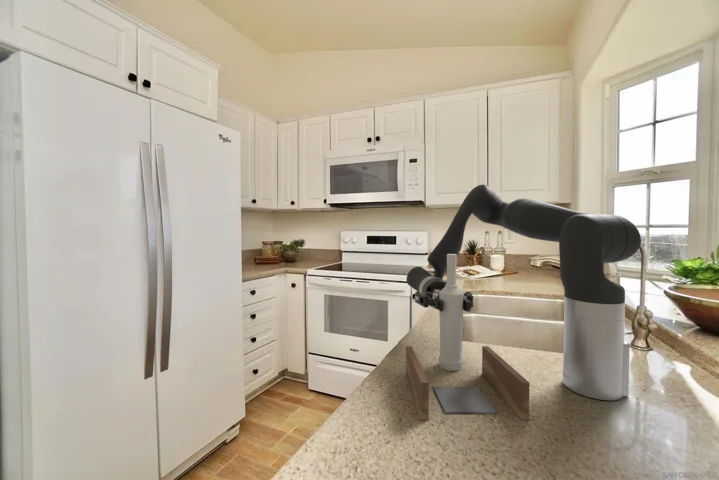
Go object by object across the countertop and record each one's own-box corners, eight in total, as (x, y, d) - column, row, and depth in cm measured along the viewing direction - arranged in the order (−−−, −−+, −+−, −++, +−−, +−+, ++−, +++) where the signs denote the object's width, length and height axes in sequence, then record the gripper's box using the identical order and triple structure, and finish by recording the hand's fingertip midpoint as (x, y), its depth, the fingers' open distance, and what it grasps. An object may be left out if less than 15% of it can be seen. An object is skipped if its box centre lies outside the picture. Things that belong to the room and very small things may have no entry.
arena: (487, 374, 66) (488, 346, 66) (528, 419, 50) (529, 382, 50) (405, 374, 66) (406, 346, 66) (421, 420, 50) (421, 382, 50)
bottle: (464, 372, 67) (465, 255, 66) (439, 370, 68) (440, 254, 67) (461, 362, 72) (462, 253, 72) (438, 360, 73) (439, 253, 73)
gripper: (408, 277, 84) (421, 289, 67) (462, 277, 84) (488, 289, 67) (408, 305, 84) (421, 324, 67) (462, 305, 84) (488, 324, 67)
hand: (454, 306), depth 67 cm, fingers closed on bottle, 5 cm apart
